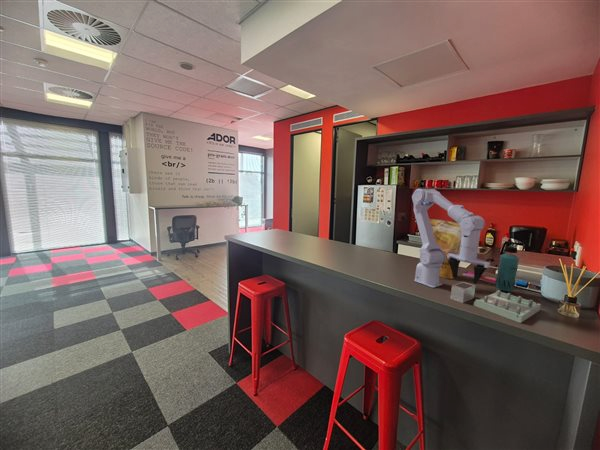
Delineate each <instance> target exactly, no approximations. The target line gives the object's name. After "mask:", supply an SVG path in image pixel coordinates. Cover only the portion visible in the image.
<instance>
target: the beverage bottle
mask: <svg viewBox="0 0 600 450" xmlns="http://www.w3.org/2000/svg"><path fill="white" fill-rule="evenodd" d="M504 252H506V253H503V254H501V255H500V256H499V257H500V258H499V263H498V269H497V274H496V278H495V279H496V283H495V288H497V290H501V291H503V292H504V291H505V292H513V291H514V289H515V286H516V280H517V273H518V266H519V260H520V258H519V256H517V255H516V254H517V253H518V247H514V246H507V245H506V246H505V247H504Z"/></svg>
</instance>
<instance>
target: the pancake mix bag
mask: <svg viewBox="0 0 600 450" xmlns="http://www.w3.org/2000/svg"><path fill="white" fill-rule="evenodd" d="M429 220H430V223H431V227H432V231H433V234H434V238H435V241H436V243H437V244H438V245H439V246H440V247H441V249H442V251H443V252H444V253H445V256H446V260H445V262H444V263H442V266H441V267H440V276H439V278H441V279H450V280H454V278H453V276H452V270H451V267H450V265H449V263H448V260H449V258H447V254H449V253H451V254H457V255H459V254H460V246H461V238H462V233H461V232H462V230H461V228H460V224H459V223H457V222H456V221H449V220H444V219H435V218H429ZM422 246H423V244H421V247H422ZM429 251H431V250H429Z"/></svg>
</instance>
